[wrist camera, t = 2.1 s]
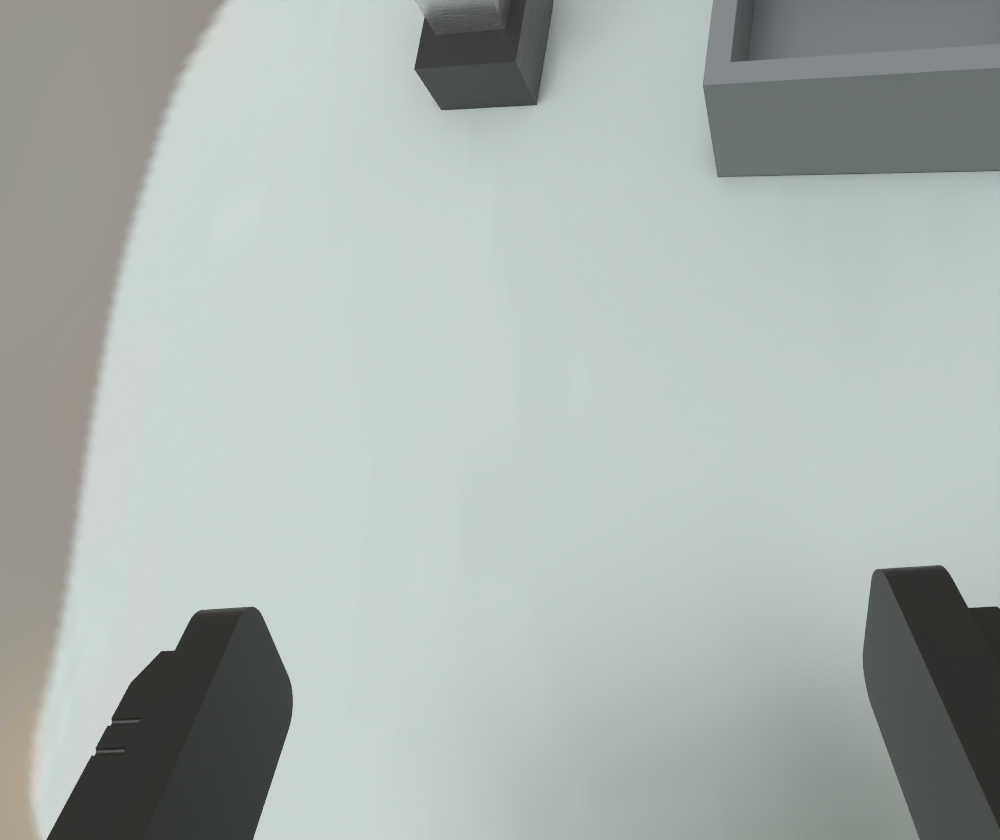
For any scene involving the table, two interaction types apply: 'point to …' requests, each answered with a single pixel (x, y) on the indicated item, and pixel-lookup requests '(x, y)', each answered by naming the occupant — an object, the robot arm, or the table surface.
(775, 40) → the holder
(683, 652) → the table surface
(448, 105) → the brushed steel column
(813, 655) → the table surface
